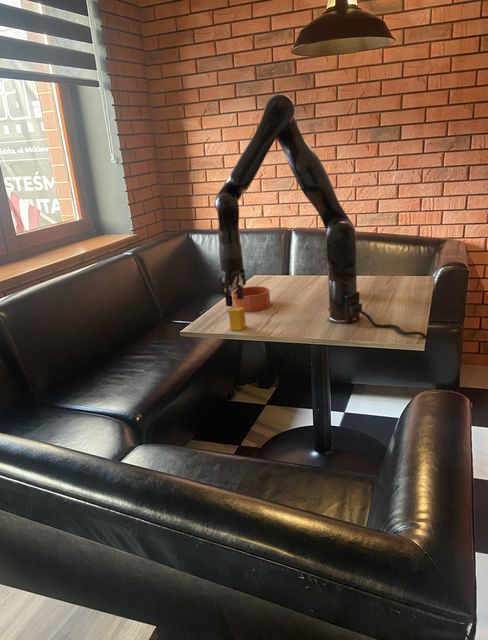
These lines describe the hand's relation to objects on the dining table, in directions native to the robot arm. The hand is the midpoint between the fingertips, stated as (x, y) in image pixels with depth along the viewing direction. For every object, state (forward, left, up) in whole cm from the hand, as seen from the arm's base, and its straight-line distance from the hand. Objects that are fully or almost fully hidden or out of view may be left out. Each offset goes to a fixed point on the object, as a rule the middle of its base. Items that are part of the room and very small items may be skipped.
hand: (235, 302), depth 182 cm
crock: (+16, -21, -9) cm, 28 cm away
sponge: (0, 0, -9) cm, 9 cm away
